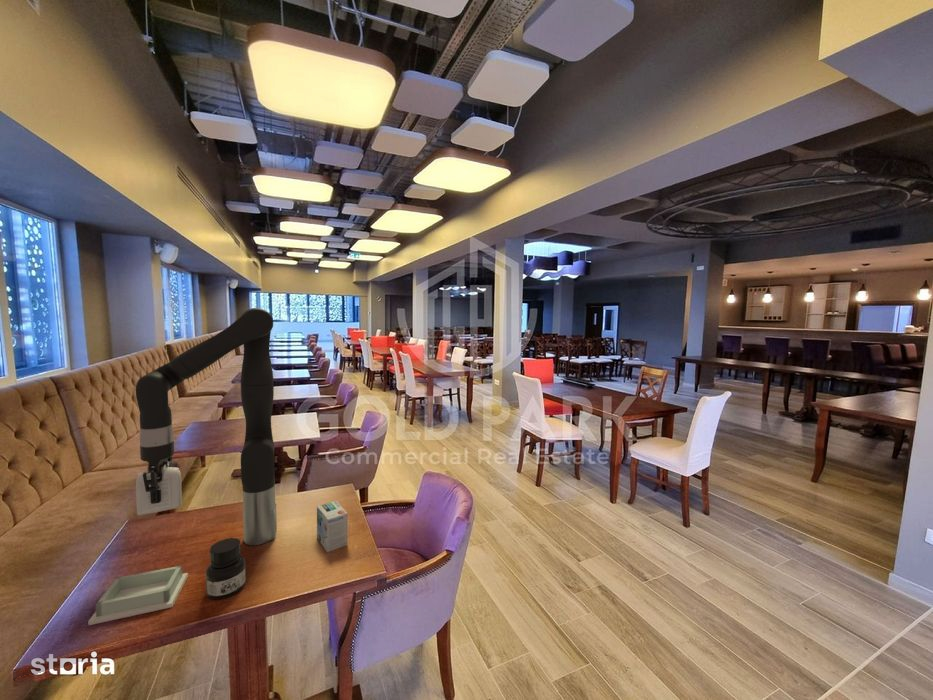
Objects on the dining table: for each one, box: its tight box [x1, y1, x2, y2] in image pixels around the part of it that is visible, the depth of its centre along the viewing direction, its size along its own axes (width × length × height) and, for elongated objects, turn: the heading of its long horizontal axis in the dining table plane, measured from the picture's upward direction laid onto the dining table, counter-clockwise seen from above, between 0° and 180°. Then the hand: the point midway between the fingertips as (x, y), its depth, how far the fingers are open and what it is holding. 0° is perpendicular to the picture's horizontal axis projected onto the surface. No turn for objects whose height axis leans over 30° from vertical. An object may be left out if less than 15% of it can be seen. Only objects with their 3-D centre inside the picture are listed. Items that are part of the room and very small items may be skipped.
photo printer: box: [135, 466, 183, 516], centre depth 108 cm, size 10×4×12 cm, turn 123°
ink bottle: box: [205, 537, 247, 600], centre depth 99 cm, size 10×9×12 cm
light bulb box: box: [316, 500, 348, 553], centre depth 121 cm, size 11×7×11 cm, turn 39°
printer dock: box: [87, 565, 189, 626], centre depth 95 cm, size 16×12×4 cm
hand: (159, 498), depth 108 cm, fingers closed on photo printer, 4 cm apart
